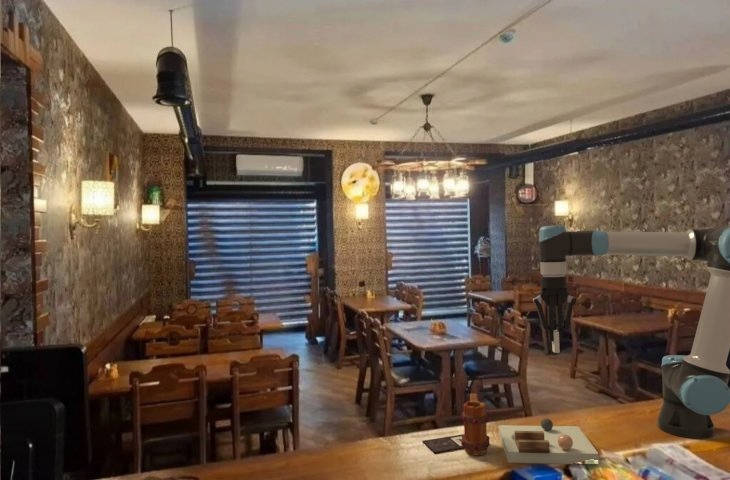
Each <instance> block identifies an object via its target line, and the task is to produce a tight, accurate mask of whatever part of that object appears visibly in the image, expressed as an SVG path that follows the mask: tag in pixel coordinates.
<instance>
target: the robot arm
mask: <svg viewBox="0 0 730 480" xmlns="http://www.w3.org/2000/svg"><path fill="white" fill-rule="evenodd" d="M538 233H539V238H538V239H539V240H538V242H539V243H538V244H539V260H540V262H539V263H540V264H539V266H540V275H542V276H541V277H540V292H539V295H538V296H536V297H533V298H532V302H533V303H534V304H535V306H536V310H537V313H538V314H537V315H538V318H539V320H540V324H541V327H542V329H544V330H547V332H548V340H549V342H551V344H552V347H551V348H552V349H551V350H552V352H553V353H555V354H559V353H560V342H563V340H564V339H563V332H564V331H565V330H568V329H569V328H570V322H571V317H572V314H573V309H574V305H576V302H577V298H576V297H573V296H571V295H570V294H569V292H568V283H567V280H568V279H567V277H566V276H565V275H566V274H567V257H578V256H579V257H581V256H582V257H583V256H584V257H586V256H589V257H591V256H592V257H593V256H595V257H597V256H605V255H608V256H611V255H613V256H614V255H615V256H642V257H643V256H647V257H648V256H651V257H678V258H679V257H681V258H683V257H684V258H686V259H687V260H688V261H701V262H707V263H706V264H707V265H706V269H707V271H708V272H709V273H710V278H709V282H708V286H707V288H706V289H707V290H706V293H705V297H704V300H703V305H702V309H701V312H700V317H699V319H698V324H697V327H696V330H695V331H696V332H695V336H694V340H693V343H692V348H691V351H690V354H688V355H685V354H684V355H678V354H677V355H676V354H673V355H672V354H670V355H664V356H663V357H662V359H661V373H662V377H661V378H662V405H661V408H660V411H659V413H658V416H657V427H658V428H659V429H660V430H661V431H663V432H665V433H668V434H670V435H674V436H677V437H683V438H689V439H690V438H691V439H706V438H711V437H713V436H714V435H715V434H716V433H715V424H714V422H713V419H712V417H711V416H714V415H718V414H719V413H722V412H723V411H725V410H726V409H727V408H728V407H729V405H730V387H729V386H728V383H729V380H730V369H729V367H728V366H727V361H728V356H729V352H730V226H729V225H721V226H716V227H710V228H709V227H707V228H699V229H698V228H695V229H692V228H689V229H688V230H686V231H684V232H681V231H680V232H678V231H677V232H675V231H673V232H671V231H668V232H667V231H605V230H597V229H596V230H578V231H566V227H565V226H564V225H544V226H542V227H540V228H539V232H538ZM542 301H543V302H544V304H546V307H547V308H546V309H547V319H546V315H545V314H544V313H545V312H544V310H543V306H542ZM566 301H567V304H566V309H565V314H564V317H563V305H564V304H565V302H566ZM554 306H555V315H556V317H555V319H556V323H555V322H554V321H555V320H554ZM554 323H555V324H556V329H555V328H554V327H555V326H554Z"/></svg>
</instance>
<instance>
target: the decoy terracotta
mask: <svg viewBox="0 0 730 480" xmlns="http://www.w3.org/2000/svg"><path fill="white" fill-rule="evenodd" d="M558 445H559V446H560V448H562V449H564V450H569V449H570V448H571V447H572V446H573V440H572V438H571V437H570V436H568V435H566V434H563V435H560V436H559V437H558Z"/></svg>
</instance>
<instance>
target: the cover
mask: <svg viewBox="0 0 730 480" xmlns="http://www.w3.org/2000/svg"><path fill="white" fill-rule="evenodd" d="M514 432H515V443H516V445H517V448H518V451H519V453H550V448H549V441H548V440H544V432H543V431H514Z"/></svg>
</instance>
